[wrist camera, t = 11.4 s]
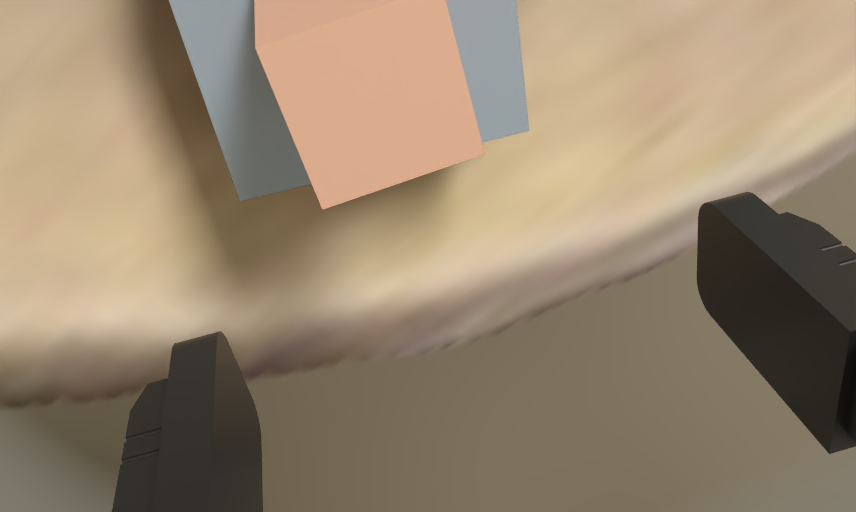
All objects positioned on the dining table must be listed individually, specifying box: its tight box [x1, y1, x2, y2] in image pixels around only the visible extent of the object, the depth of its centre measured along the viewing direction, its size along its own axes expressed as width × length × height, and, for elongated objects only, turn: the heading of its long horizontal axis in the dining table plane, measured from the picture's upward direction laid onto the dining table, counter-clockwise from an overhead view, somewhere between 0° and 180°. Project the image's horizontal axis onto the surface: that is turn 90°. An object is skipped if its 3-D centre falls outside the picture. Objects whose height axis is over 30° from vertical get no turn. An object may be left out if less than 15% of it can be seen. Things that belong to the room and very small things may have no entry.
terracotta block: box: [254, 0, 485, 210], centre depth 24 cm, size 5×5×8 cm
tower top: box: [169, 0, 529, 202], centre depth 29 cm, size 12×12×4 cm
